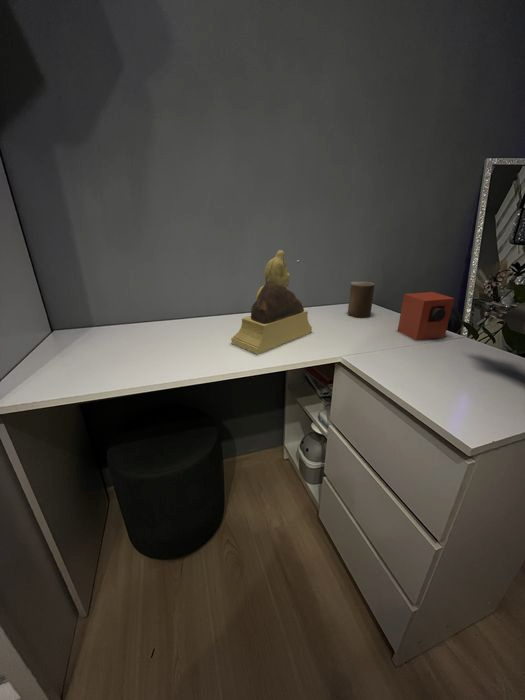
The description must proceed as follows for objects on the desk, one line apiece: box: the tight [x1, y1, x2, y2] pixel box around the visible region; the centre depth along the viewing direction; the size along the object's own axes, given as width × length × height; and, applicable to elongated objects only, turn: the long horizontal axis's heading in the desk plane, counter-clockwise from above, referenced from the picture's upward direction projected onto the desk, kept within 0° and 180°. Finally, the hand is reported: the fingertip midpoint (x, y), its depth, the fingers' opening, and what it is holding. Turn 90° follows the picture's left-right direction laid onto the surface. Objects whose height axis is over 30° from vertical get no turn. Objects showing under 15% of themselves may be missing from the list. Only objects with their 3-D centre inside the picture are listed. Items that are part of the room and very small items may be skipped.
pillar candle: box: [347, 280, 376, 319], centre depth 128 cm, size 10×10×15 cm
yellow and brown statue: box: [230, 249, 313, 355], centre depth 101 cm, size 28×13×30 cm, turn 134°
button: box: [430, 308, 445, 322], centre depth 101 cm, size 2×4×4 cm, turn 104°
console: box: [397, 291, 455, 341], centre depth 107 cm, size 10×12×14 cm
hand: (475, 303), depth 87 cm, fingers closed
